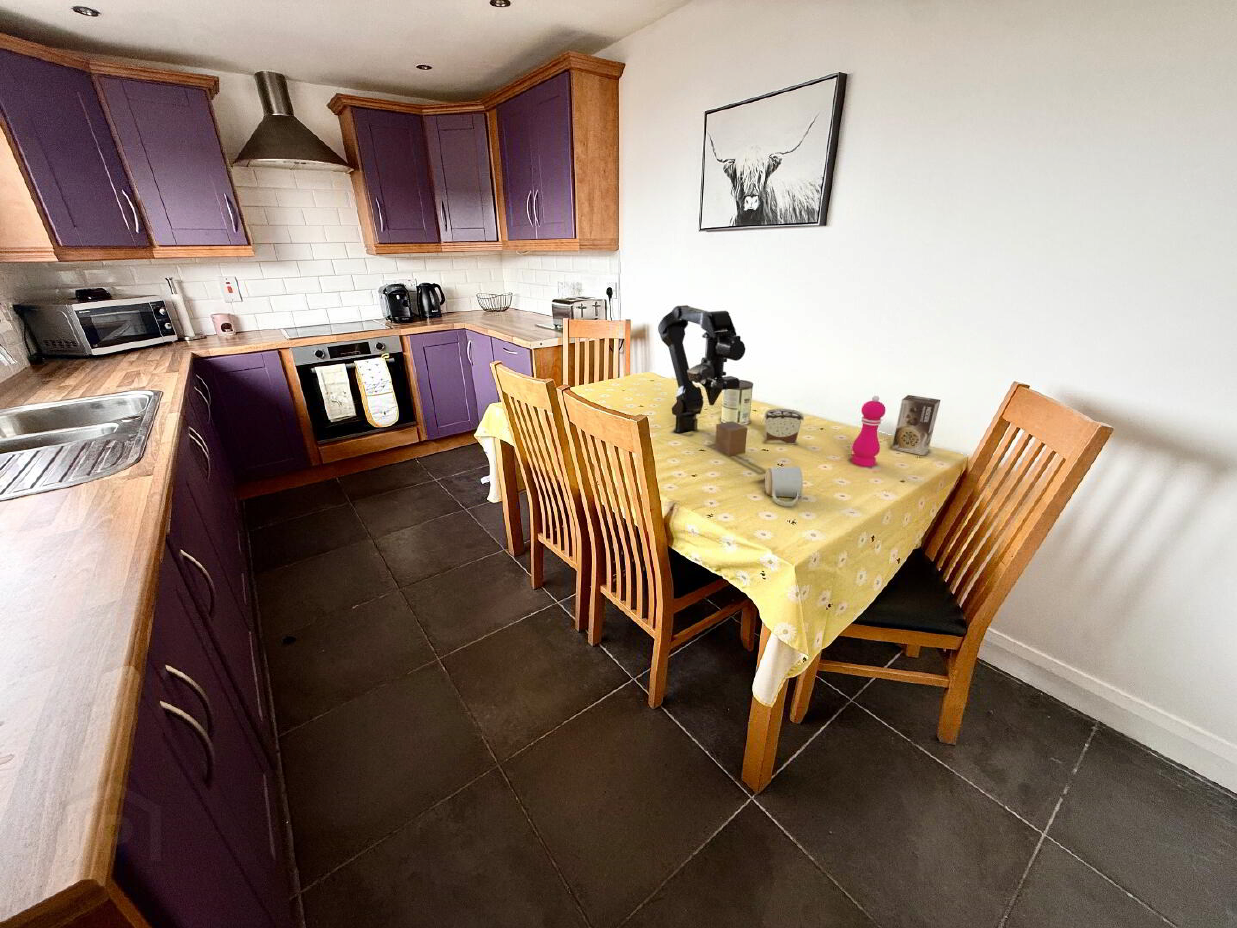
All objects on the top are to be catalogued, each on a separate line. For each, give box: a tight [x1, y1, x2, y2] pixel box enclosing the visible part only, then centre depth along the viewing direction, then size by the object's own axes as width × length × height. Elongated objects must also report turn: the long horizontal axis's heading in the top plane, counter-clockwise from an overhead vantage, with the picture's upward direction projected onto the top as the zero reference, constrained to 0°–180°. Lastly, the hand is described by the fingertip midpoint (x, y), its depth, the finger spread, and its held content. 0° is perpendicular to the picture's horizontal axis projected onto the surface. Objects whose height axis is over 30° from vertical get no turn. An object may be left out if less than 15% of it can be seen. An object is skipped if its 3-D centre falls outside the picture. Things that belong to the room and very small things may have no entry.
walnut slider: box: [714, 421, 748, 457], centre depth 150 cm, size 7×6×8 cm
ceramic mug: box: [764, 466, 804, 508], centre depth 124 cm, size 11×8×8 cm
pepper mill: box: [851, 395, 886, 467], centre depth 142 cm, size 7×7×20 cm
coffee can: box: [720, 379, 754, 426], centre depth 179 cm, size 10×10×14 cm
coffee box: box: [891, 394, 941, 456], centre depth 151 cm, size 9×6×16 cm
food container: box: [763, 408, 805, 445], centre depth 161 cm, size 12×6×10 cm, turn 84°
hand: (711, 405), depth 155 cm, fingers closed
